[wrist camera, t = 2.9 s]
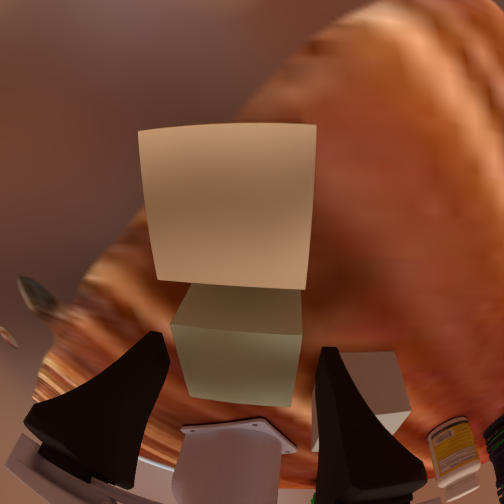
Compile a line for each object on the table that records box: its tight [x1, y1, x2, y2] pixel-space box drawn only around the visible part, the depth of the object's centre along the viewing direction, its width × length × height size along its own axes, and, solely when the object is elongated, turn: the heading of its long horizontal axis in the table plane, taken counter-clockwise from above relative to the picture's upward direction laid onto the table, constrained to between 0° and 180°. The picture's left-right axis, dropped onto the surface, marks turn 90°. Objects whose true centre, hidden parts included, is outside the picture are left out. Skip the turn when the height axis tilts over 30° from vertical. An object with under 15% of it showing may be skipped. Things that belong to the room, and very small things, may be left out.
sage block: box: [170, 283, 303, 407], centre depth 13 cm, size 5×5×5 cm
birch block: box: [138, 122, 316, 290], centre depth 10 cm, size 5×5×5 cm
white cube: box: [312, 351, 412, 452], centre depth 15 cm, size 5×5×5 cm
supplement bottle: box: [427, 417, 481, 502], centre depth 17 cm, size 5×5×10 cm
